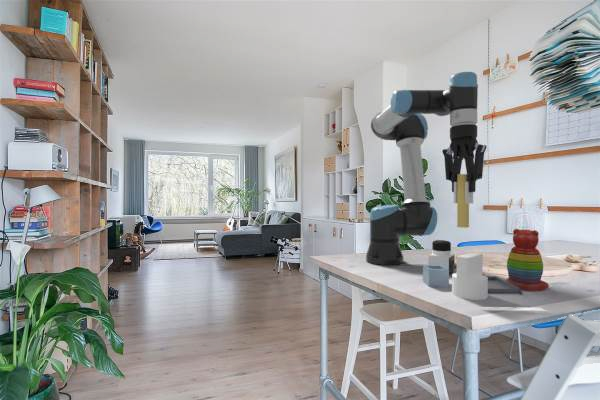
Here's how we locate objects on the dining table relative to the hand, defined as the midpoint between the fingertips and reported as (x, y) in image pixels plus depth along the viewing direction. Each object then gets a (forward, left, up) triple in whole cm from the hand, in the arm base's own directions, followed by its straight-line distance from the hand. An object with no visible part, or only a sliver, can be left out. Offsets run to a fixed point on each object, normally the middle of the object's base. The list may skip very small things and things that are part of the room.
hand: (463, 203), depth 105 cm
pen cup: (-1, -8, -26) cm, 27 cm away
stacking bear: (-1, +19, -26) cm, 33 cm away
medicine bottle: (-16, -1, -26) cm, 31 cm away
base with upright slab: (+9, -2, -26) cm, 28 cm away
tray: (+1, +8, -26) cm, 27 cm away
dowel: (0, 0, -7) cm, 7 cm away
